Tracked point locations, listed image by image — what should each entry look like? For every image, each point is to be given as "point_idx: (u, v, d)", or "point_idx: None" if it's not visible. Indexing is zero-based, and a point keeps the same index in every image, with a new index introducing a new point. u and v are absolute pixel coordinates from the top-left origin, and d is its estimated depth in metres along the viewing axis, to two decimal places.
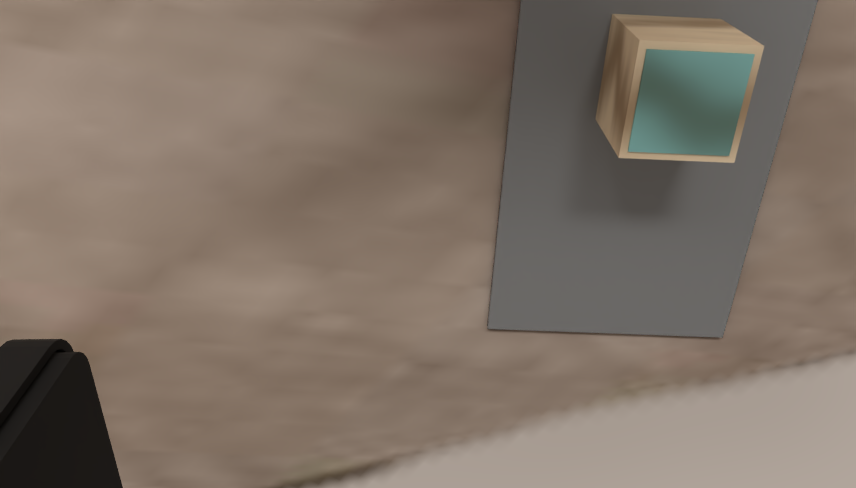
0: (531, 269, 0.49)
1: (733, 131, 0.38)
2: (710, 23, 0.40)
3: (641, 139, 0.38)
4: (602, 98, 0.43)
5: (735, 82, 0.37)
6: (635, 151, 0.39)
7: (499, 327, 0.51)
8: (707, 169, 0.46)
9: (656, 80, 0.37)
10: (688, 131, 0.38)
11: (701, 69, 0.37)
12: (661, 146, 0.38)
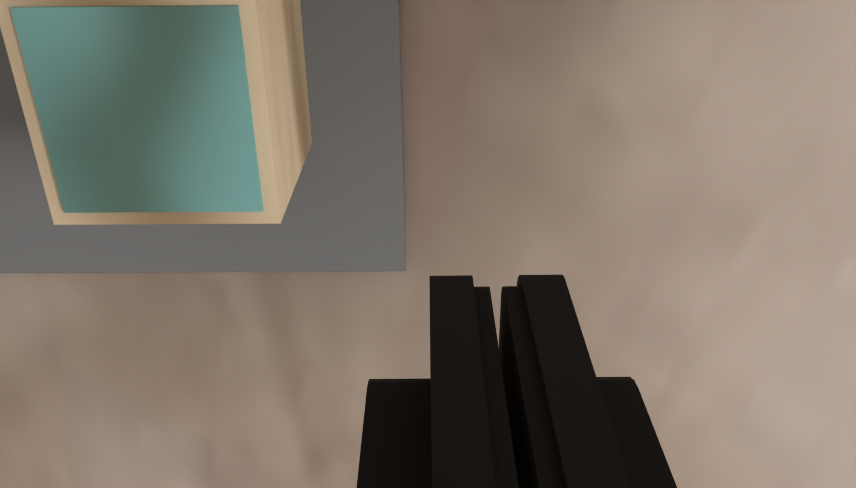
0: None
1: (113, 209, 0.20)
2: (303, 126, 0.24)
3: (47, 32, 0.18)
4: None
5: (205, 191, 0.19)
6: (15, 24, 0.18)
7: None
8: None
9: (177, 39, 0.18)
10: (90, 126, 0.19)
11: (218, 124, 0.19)
12: (44, 79, 0.18)
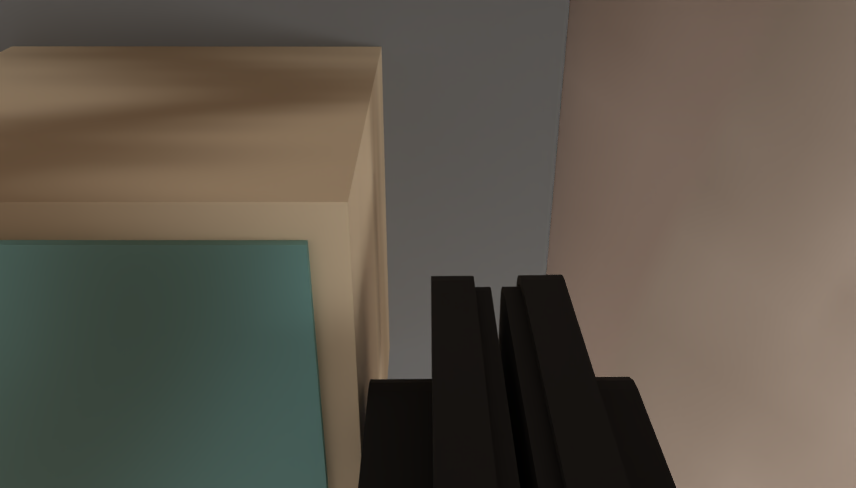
0: None
1: None
2: (384, 344, 0.14)
3: None
4: (84, 59, 0.12)
5: None
6: None
7: None
8: None
9: (161, 311, 0.07)
10: None
11: (250, 467, 0.08)
12: None
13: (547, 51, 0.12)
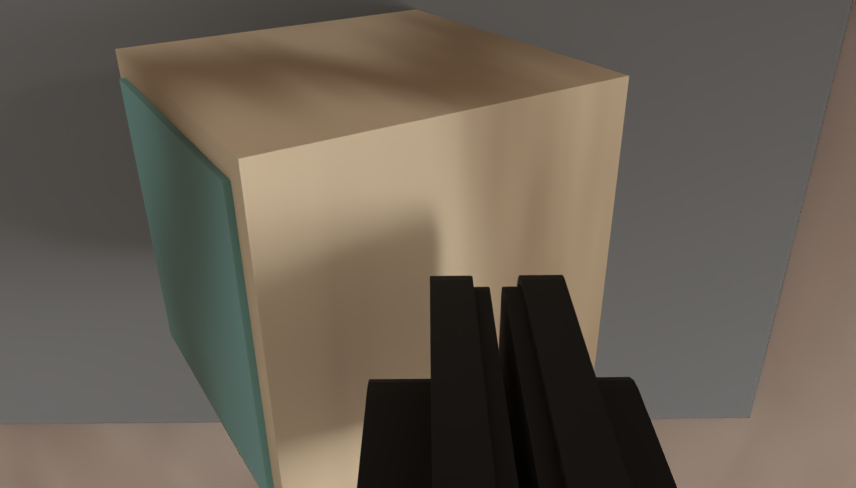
0: None
1: None
2: None
3: None
4: (419, 27, 0.14)
5: (232, 419, 0.12)
6: None
7: None
8: None
9: (193, 196, 0.10)
10: (168, 256, 0.13)
11: (227, 344, 0.11)
12: (143, 177, 0.13)
13: (836, 9, 0.16)
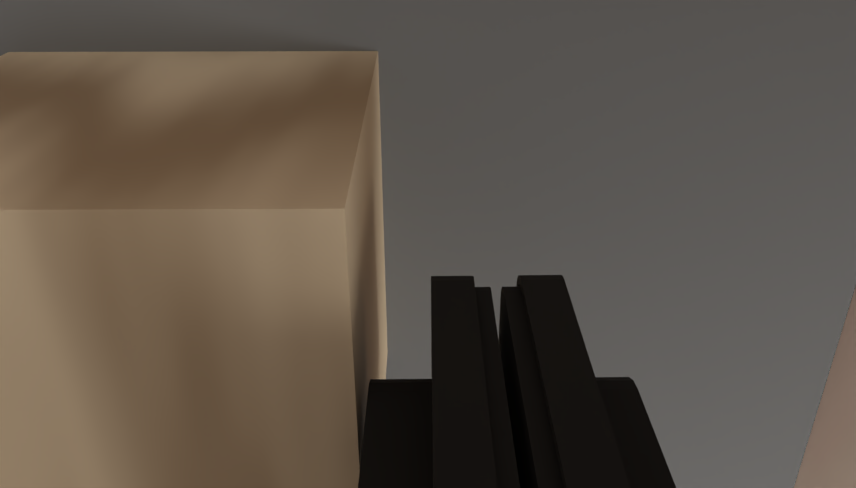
0: None
1: None
2: None
3: None
4: (313, 76, 0.11)
5: None
6: None
7: None
8: None
9: None
10: None
11: None
12: None
13: None
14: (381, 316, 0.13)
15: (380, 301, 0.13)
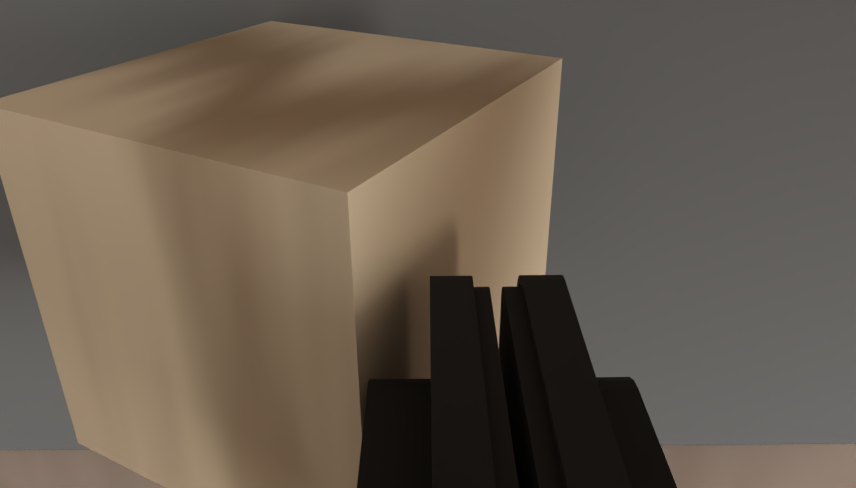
0: None
1: None
2: None
3: None
4: (472, 73, 0.11)
5: None
6: None
7: None
8: None
9: None
10: None
11: None
12: None
13: None
14: None
15: None
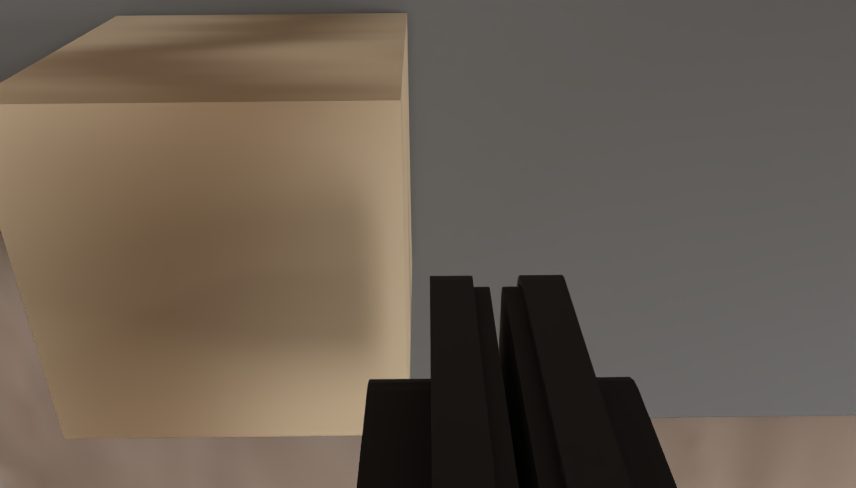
0: None
1: None
2: None
3: None
4: (299, 83, 0.11)
5: None
6: None
7: None
8: None
9: None
10: None
11: None
12: None
13: None
14: (320, 352, 0.12)
15: (310, 333, 0.12)
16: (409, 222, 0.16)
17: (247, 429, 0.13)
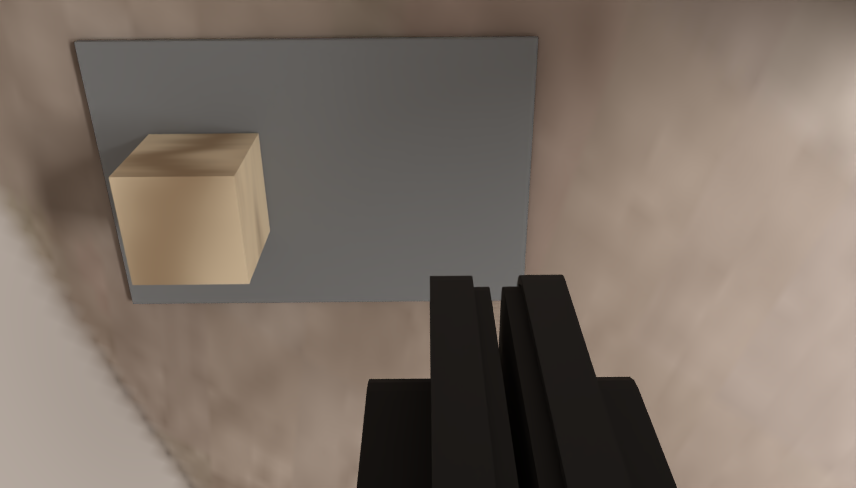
0: (173, 87, 0.40)
1: None
2: None
3: None
4: (207, 169, 0.37)
5: None
6: None
7: (80, 57, 0.40)
8: (325, 248, 0.45)
9: None
10: None
11: None
12: None
13: (527, 131, 0.42)
14: (216, 254, 0.38)
15: (213, 247, 0.38)
16: (259, 212, 0.42)
17: (194, 282, 0.39)
